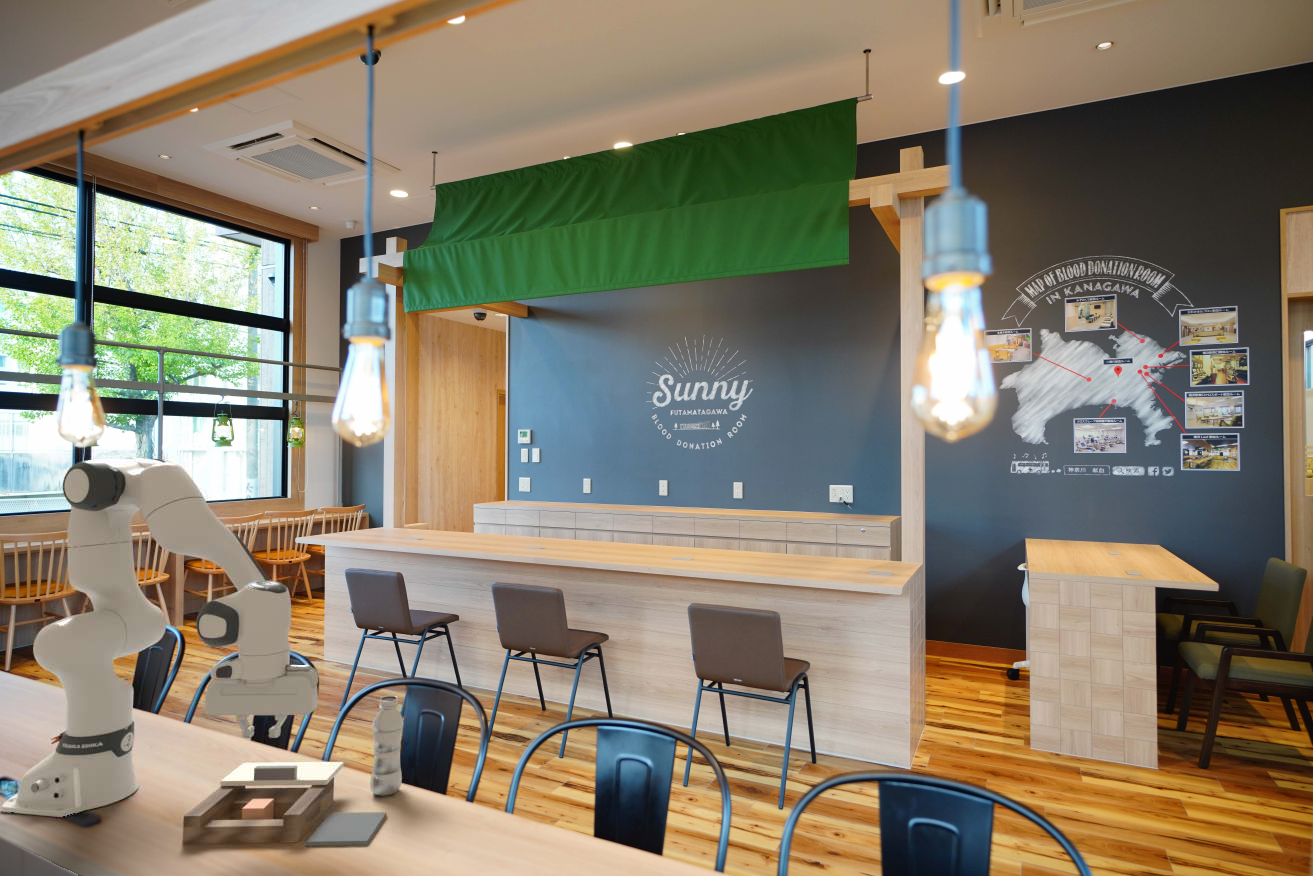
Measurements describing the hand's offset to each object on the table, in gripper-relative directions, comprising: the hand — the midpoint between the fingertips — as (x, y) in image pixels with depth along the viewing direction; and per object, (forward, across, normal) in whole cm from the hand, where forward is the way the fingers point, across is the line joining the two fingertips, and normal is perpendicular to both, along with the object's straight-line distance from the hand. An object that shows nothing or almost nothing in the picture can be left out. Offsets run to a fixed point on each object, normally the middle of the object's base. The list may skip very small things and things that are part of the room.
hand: (261, 736), depth 138 cm
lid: (+12, 0, -11) cm, 16 cm away
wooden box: (+17, 0, -2) cm, 17 cm away
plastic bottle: (+17, -20, -14) cm, 30 cm away
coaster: (+17, -18, +2) cm, 25 cm away
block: (+17, 0, 0) cm, 17 cm away
